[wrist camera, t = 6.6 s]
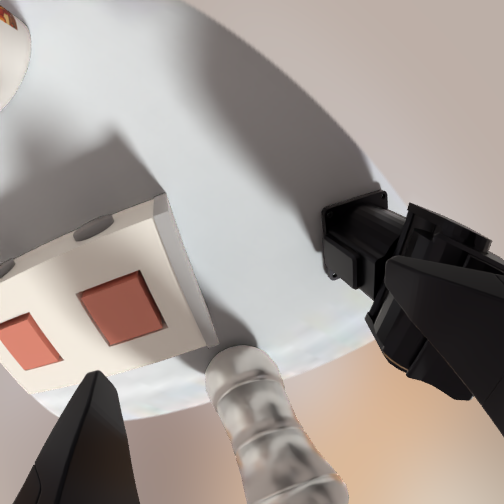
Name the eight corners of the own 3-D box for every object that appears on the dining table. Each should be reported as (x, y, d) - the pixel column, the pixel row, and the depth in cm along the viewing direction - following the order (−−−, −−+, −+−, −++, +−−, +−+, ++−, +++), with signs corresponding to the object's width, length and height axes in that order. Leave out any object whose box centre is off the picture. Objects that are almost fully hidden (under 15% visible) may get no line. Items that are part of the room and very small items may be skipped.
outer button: (35, 303, 14) (27, 319, 12) (62, 343, 16) (57, 361, 14) (3, 316, 13) (-6, 332, 12) (30, 353, 15) (24, 370, 13)
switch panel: (165, 189, 17) (167, 207, 13) (207, 307, 21) (219, 344, 17) (-20, 273, 14) (-44, 302, 10) (39, 361, 18) (29, 397, 14)
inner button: (138, 262, 15) (137, 278, 14) (160, 310, 17) (162, 327, 16) (86, 282, 15) (81, 298, 13) (112, 326, 17) (110, 344, 15)
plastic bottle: (221, 393, 26) (297, 573, 9) (185, 357, 22) (265, 591, 5) (277, 364, 26) (383, 536, 9) (252, 322, 23) (385, 547, 6)
